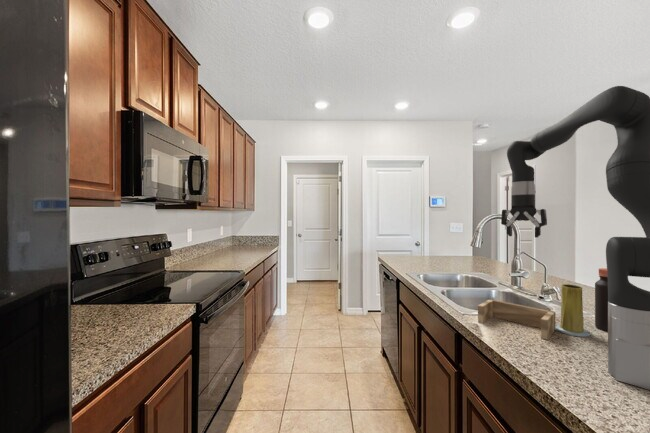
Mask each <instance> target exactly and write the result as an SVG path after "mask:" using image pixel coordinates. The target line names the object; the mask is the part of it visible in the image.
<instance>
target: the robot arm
mask: <svg viewBox="0 0 650 433" xmlns="http://www.w3.org/2000/svg"><path fill="white" fill-rule="evenodd" d="M597 121H600V122H603V123H606V124H609V125H611V126H612V127H614V130H615V131H616V136H617V137H616V138H617V146H616V147H615V150H614V152H613V153H612V154H611V156H610V157H609V159H608V161H607V162H606V166H605V176H606V187H607V191H608V192H609V194H610V196H611V197H613V199H614V200H615V201H617V202H618V204H620V206H622V207H623V208H624V209H625V210H627V211H628V212H629V213H630V214H631V215H632V216H633V217H634V218H635V219H636V220H637V222H638V223H639V224H640V227H641V228H642V229H643V232H644V234H645V236H643V237H642V236H641V237H640V236H639V237H638V236H613V237H610V238H609V239H608V241H607V242H606V246H605V260H606V269H607V276H608V332H607V359H608V360H607V368H608V369H607V371H608V373H609V374H610V375H611V376H612V377H613V378H615V380H616V381H619V382H622V383H625V384H629V385H632V386H636V387H639V388H642V389H645V390H649V391H650V291H649V290H646V289H643V288H641V287H638V286H636V285H635V284H633V283H631V282H630V280H629V277H635V278H650V95H648V94H647V93H644V92H643V91H640V90H637V89H634V88H632V87H628V86H625V85H616V86H612V87H610V88H607V89H605V90H603V91H602V92H600V93H599V94H597V95H596V96H594V97H593V98H591V99H589V101H587V102H586V103H584V104H582V106H580V107H578V108H577V109H576V110H574V111H572V113H570V114H568V115H567V116H566V117H564V118H563V119H561V120H560V121H558V122H557V123H554V124H553V125H551V126H549V127H547V128H545V129H543V130H541V131H539V132H537V133H535V134H533V135H532V137H531V139H530V140H529V141H528V140H527V141H526V140H525V141H524V140H516V141H512V142H511V143H510V144H509V145H508V147H507V150H506V157H507V161H508V164H509V168H510V170H511V189H510V190H511V191H510V192H511V194H510V196H511V197H510V198H511V199H510V200H511V202H510V203H511V204H510V205H511V208H510V209H502V210H501V222H500V224H501V225H503V226H505V227H506V234H507V235H508V237H512V236H513V225H514V223H516V222H517V221H518V222H519V221H520V222H521V221H525V222H527V221H529V222H531V223H532V224H533V226H535V227H534V238H539V237H540V236H541V235H542V234H541V231H542V230H541V228H542V227H544V226H547V225H548V219H547V218H548V217H547V210H546V208H542V209H541V208H540V209H537V208H536V184H535V168H534V167H533V166H532V165H528V164H527V163H526V161H531V160H535V159H537V158H538V157H540V156H541V155H543V154H544V153H546V152H547V151H550V150H551V149H554V148H558V147H559V146H561V145H563V144H565V143H566V142H568V141H569V140H570V139H571V138H573V136H574V135H575V134H576V132H577V131H578V130H579V129H580V128H582V127H583V126H585V125H588V124H590V123H594V122H597ZM537 213H538V216H540V221H538V219H537V218H536V217H535V216H536V215H537ZM510 214H511V218H509V219H510V220H508V216H509V215H510Z"/></svg>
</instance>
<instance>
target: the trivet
mask: <svg viewBox="0 0 650 433" xmlns="http://www.w3.org/2000/svg"><path fill="white" fill-rule="evenodd" d="M560 324H561V323H559V324H555V331H557V332H559V333H562V334H564V335H569V336H573V337H579V338H581V337H582V338H583V337H584V338H587V337H590V336H591V332H590V331H589V330H588V329H586V328H584V332H582V333H576V332H570V331H567V330H564V329H562V328H561V327H560Z"/></svg>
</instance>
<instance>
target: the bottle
mask: <svg viewBox="0 0 650 433" xmlns="http://www.w3.org/2000/svg"><path fill="white" fill-rule="evenodd" d="M598 277H599V279H598V280H597V281H595V283H594V326H595V328H597V329H598V330H600V331H603V332H607V333H608V276H607V268H602V267H601V268H598Z"/></svg>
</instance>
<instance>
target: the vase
mask: <svg viewBox="0 0 650 433" xmlns="http://www.w3.org/2000/svg"><path fill="white" fill-rule="evenodd" d="M560 298H561V302H560V303H561V305H560V306H561V307H560V323H559V324H560V327H561V328H562V329H564V330H567V331H570V332H576V333H582V332H584V329H585V328H584V309H583V308H584V307H583V304H584V303H583V287H582V286H580V285H576V284H575V285H574V284H570V283H569V284H568V283H567V284H566V283H565V284H561V296H560Z"/></svg>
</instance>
